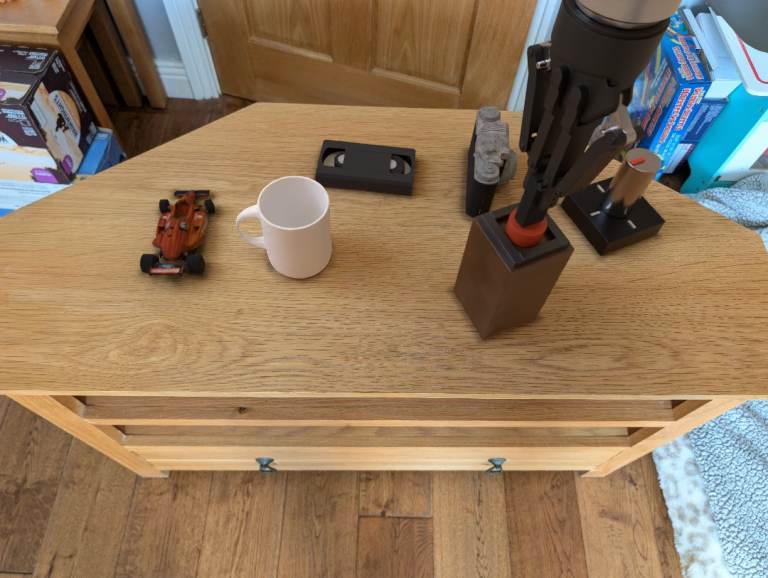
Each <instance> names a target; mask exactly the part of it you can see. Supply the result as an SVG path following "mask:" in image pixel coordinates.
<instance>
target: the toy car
mask: <svg viewBox="0 0 768 578" xmlns="http://www.w3.org/2000/svg"><path fill="white" fill-rule="evenodd" d="M210 191H211V190H210V189H197V190H194V189H191V190H175V191H174V193H173V196H174V197H180V196H181V197H180V198H179V199H178V200H176V201H175V203H174V204H173V205H172V204H171V203H170V201H169V199H168V198H163V199H161V198H160V199H159V201H158V209H159V212H160V214H161V215H160V217H159V218H158V221H157V224H156V229H155V238H154V239H153V240H152V242H151V245H152V247H154V248H159V249H160V251H159V253H156V252H155V253H143V254H142V255H141V256H140V259H139V267H140V270H141V272H142V273H143V274H148V275H149V276H150V277H151V276H152V275H168V276H176V275H179V276H180V277H182V275H183V273H184V269H186V270H187V273H188V274H189V275H203V273H204V272H205V268H206V261H205V258H204V256H203V254H197V251H198V248H199V246H201V245H203V244H204V243H205V241H206V239H207V237H206V233H207V228H208V224H209V223H208V222H209V219H208V215H213V214H216V212H217V209H216V206H215V202H214V201H213V199H212V198H206V199H204V201H203V205H201V204H196V196H200V197H201V196H209V195H210V193H211V192H210ZM203 207H205V209H206V211H207V213H206V212H203V211H200V210H201V208H203ZM207 214H208V215H207ZM163 256H164V258H166V259H167V260H168V261H167V262H164V263H162V262H160V259H162V257H163ZM184 256H185V258H186V262H185V259H182V258H183V257H184Z"/></svg>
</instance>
